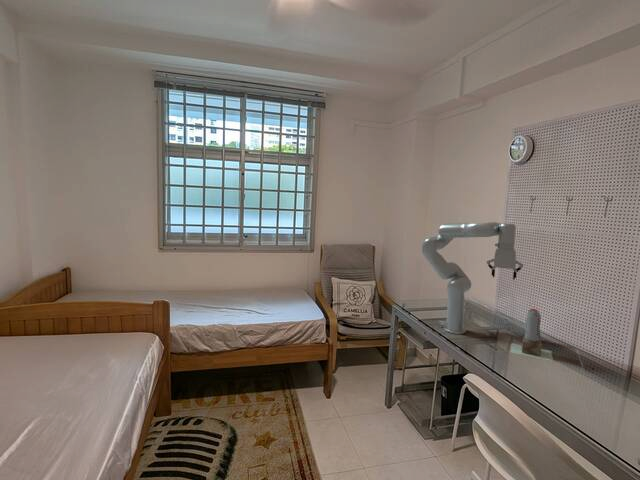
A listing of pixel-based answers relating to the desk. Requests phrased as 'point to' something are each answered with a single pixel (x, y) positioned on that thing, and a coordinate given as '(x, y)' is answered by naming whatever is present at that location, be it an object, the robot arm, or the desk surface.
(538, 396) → the desk surface
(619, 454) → the desk surface
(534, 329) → the energy drink can
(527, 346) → the walnut block
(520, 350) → the base board
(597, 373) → the desk surface
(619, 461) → the desk surface
